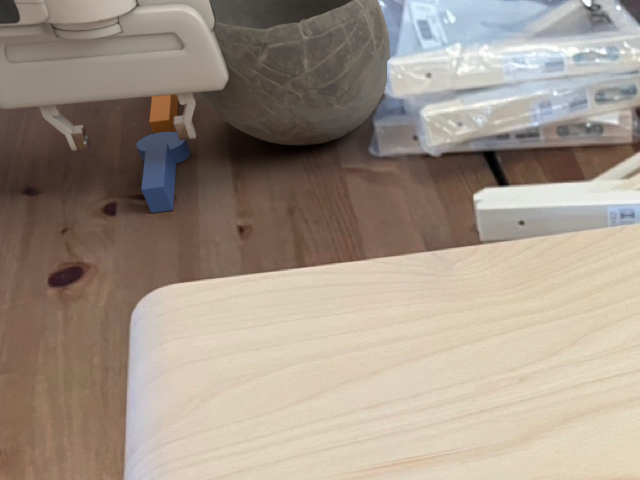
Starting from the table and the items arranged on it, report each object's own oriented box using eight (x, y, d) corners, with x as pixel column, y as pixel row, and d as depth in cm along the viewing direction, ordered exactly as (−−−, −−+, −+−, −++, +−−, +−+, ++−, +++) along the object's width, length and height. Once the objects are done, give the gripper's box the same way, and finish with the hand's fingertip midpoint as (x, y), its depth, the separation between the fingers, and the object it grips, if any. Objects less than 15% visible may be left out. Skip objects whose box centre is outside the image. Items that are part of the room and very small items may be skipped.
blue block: (188, 208, 99) (179, 184, 97) (135, 215, 98) (125, 191, 96) (191, 143, 109) (182, 120, 107) (143, 149, 108) (134, 126, 106)
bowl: (184, 125, 112) (128, -24, 101) (356, 79, 121) (322, -62, 110) (258, 195, 101) (205, 37, 90) (441, 138, 110) (412, -11, 100)
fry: (176, 137, 110) (169, 119, 108) (156, 140, 109) (149, 121, 108) (178, 94, 118) (172, 76, 116) (160, 96, 117) (153, 78, 116)
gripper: (204, -33, 93) (248, 118, 103) (-50, -17, 88) (23, 140, 97) (203, -10, 89) (250, 144, 98) (-63, 7, 83) (14, 168, 93)
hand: (135, 142), depth 98 cm, fingers open, 8 cm apart
